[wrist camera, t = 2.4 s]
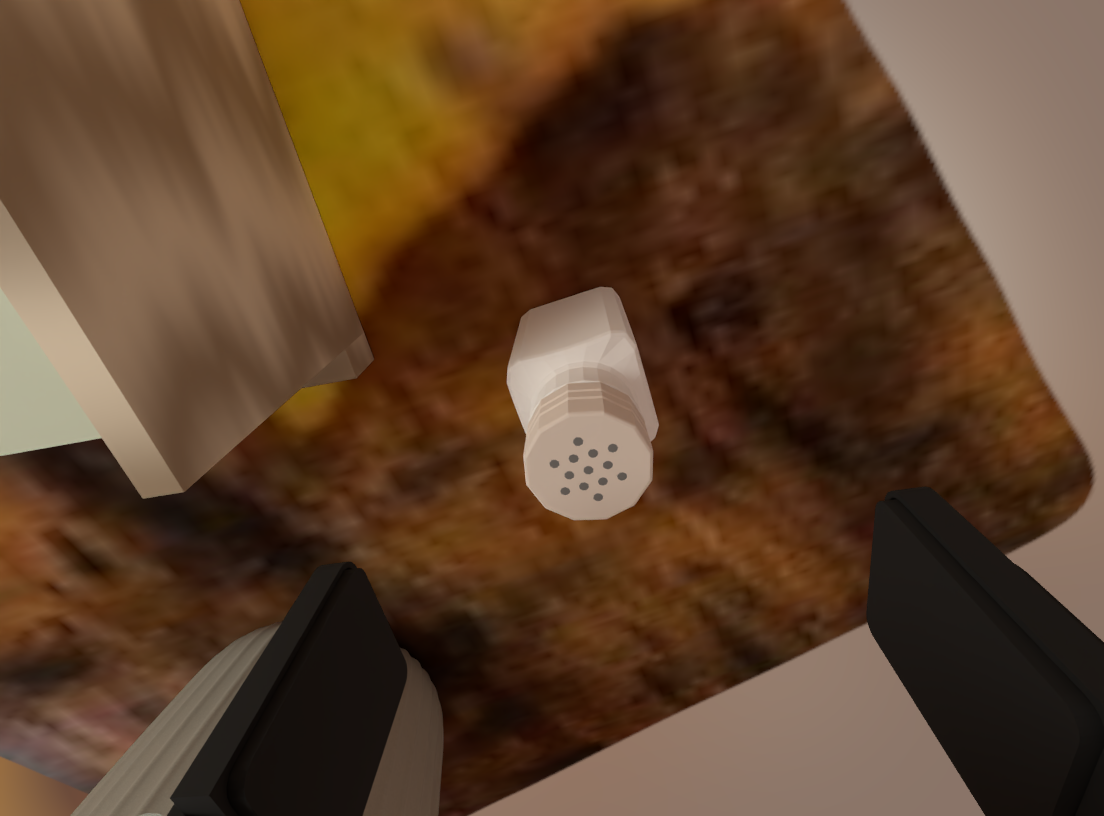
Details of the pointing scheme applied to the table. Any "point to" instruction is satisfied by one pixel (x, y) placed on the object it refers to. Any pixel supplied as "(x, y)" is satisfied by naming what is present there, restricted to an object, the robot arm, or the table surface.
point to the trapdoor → (33, 393)
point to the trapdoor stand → (163, 228)
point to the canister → (186, 723)
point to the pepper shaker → (583, 406)
